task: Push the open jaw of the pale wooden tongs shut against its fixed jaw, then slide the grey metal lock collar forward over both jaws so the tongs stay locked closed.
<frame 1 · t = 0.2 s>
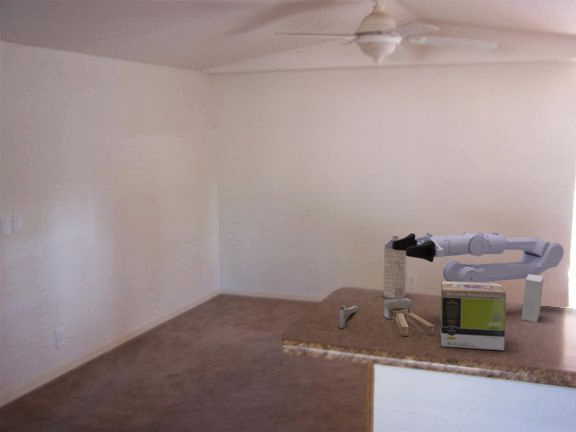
hand: (399, 248, 162), 21 cm above the kitchen counter, tool horizontal, fingers open, 7 cm apart
caliper: (349, 319, 171), on the kitchen counter
lock collar: (397, 308, 172), point 3 cm above the kitchen counter, slide at 0.0 cm
tea box: (470, 343, 151), on the kitchen counter
skincare box: (530, 318, 171), on the kitchen counter, touching arm
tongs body: (402, 320, 169), on the kitchen counter
jaw: (401, 322, 162), point 1 cm above the kitchen counter, hinge at 20.0°
cream cylinder: (394, 297, 193), on the kitchen counter
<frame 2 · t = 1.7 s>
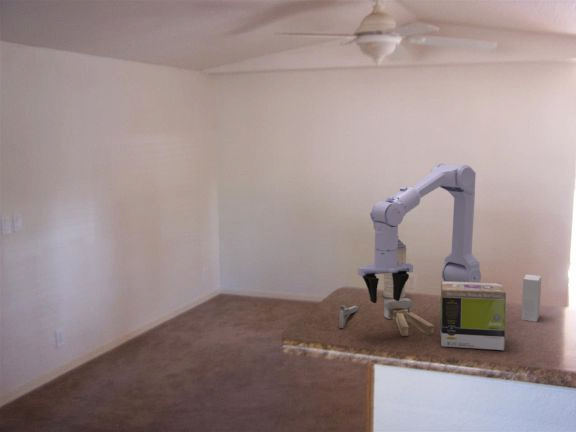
hand: (384, 301, 155), 9 cm above the kitchen counter, tool pointing down, fingers open, 6 cm apart
skincare box: (530, 318, 171), on the kitchen counter
everything else where it was.
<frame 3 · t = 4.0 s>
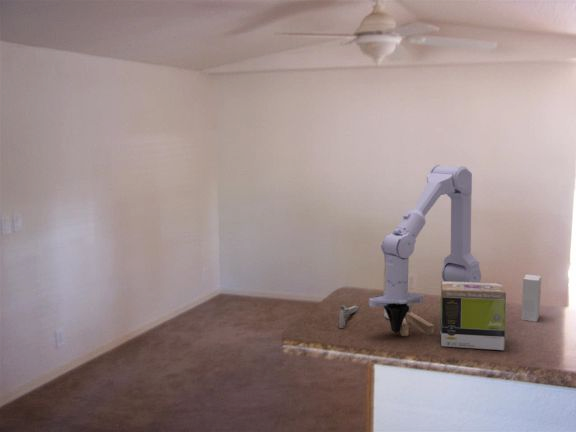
hand: (395, 331, 157), 1 cm above the kitchen counter, tool pointing down, fingers closed
jaw: (401, 322, 162), point 1 cm above the kitchen counter, hinge at 20.0°, touching gripper
everything else where it was.
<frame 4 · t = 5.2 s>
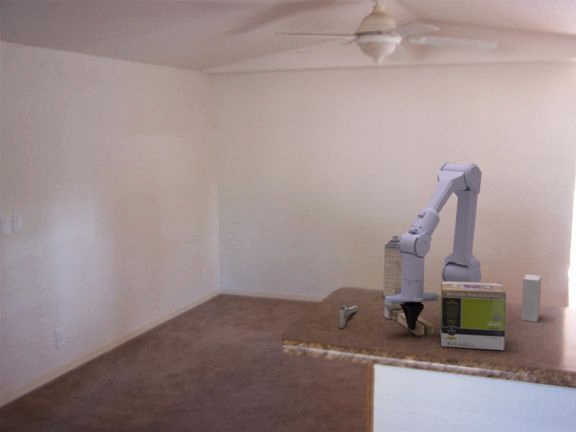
hand: (411, 329, 158), 1 cm above the kitchen counter, tool pointing down, fingers closed
jaw: (408, 322, 163), point 1 cm above the kitchen counter, hinge at 1.3°, touching gripper
everything else where it was.
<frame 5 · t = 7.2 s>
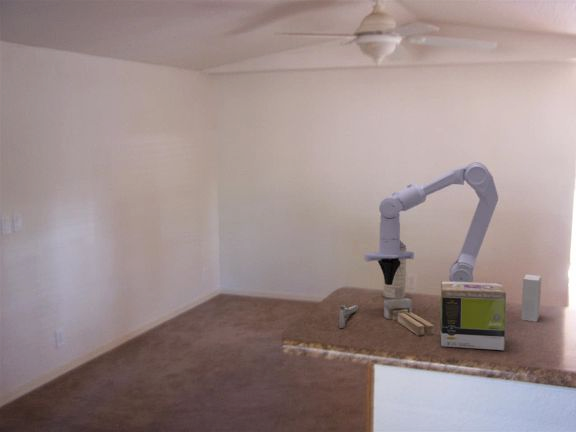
hand: (388, 284, 176), 8 cm above the kitchen counter, tool pointing down, fingers closed
jaw: (408, 322, 163), point 1 cm above the kitchen counter, hinge at 1.1°
everything else where it was.
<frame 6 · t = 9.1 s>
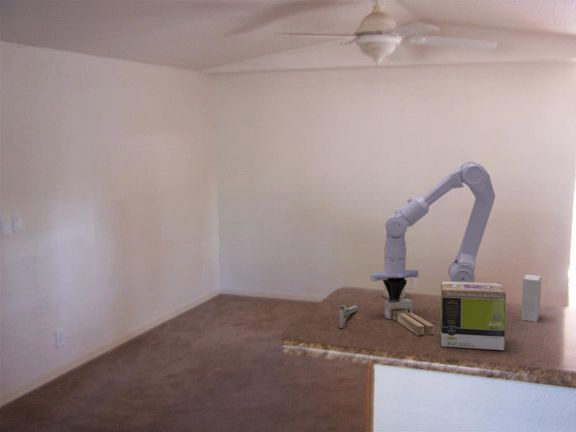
hand: (394, 303, 174), 3 cm above the kitchen counter, tool pointing down, fingers closed
lock collar: (398, 308, 171), point 3 cm above the kitchen counter, slide at 0.5 cm, touching gripper
everything else where it was.
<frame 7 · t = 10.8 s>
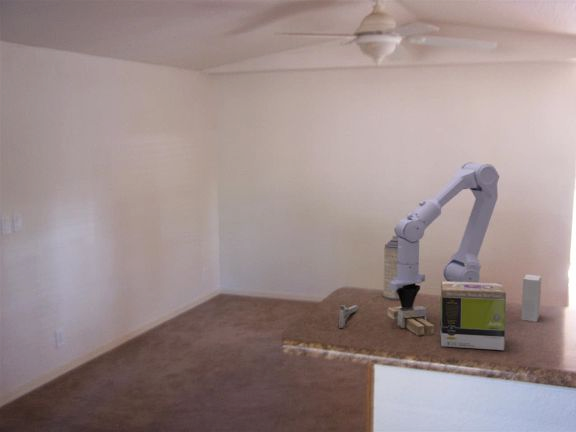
hand: (406, 310, 166), 3 cm above the kitchen counter, tool pointing down, fingers closed
lock collar: (412, 316, 164), point 3 cm above the kitchen counter, slide at 8.5 cm, touching gripper
everything else where it was.
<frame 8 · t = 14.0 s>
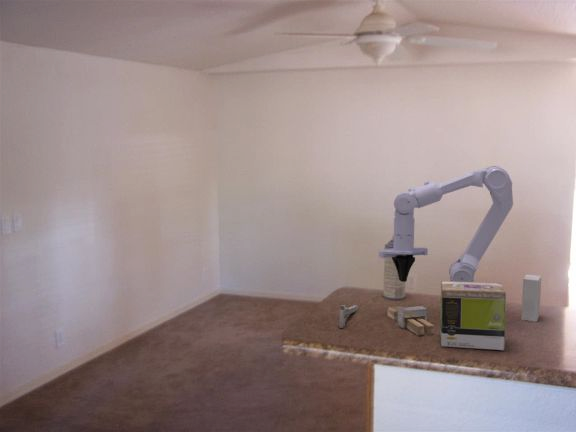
hand: (402, 280, 174), 10 cm above the kitchen counter, tool pointing down, fingers closed
lock collar: (412, 317, 164), point 3 cm above the kitchen counter, slide at 8.6 cm
everything else where it was.
at the end: jaw at +1° (first picture: +20°); lock collar slide at 8.6 cm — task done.
